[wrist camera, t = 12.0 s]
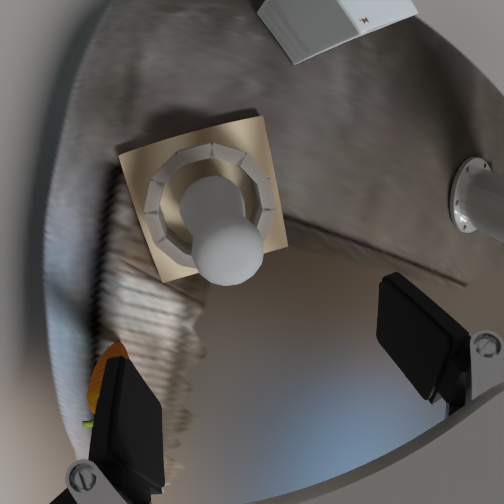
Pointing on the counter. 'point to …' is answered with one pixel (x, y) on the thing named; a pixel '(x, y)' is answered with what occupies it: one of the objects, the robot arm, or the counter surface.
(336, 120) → the counter surface
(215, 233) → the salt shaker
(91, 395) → the carrot
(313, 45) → the supplement box
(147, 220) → the ring holder
